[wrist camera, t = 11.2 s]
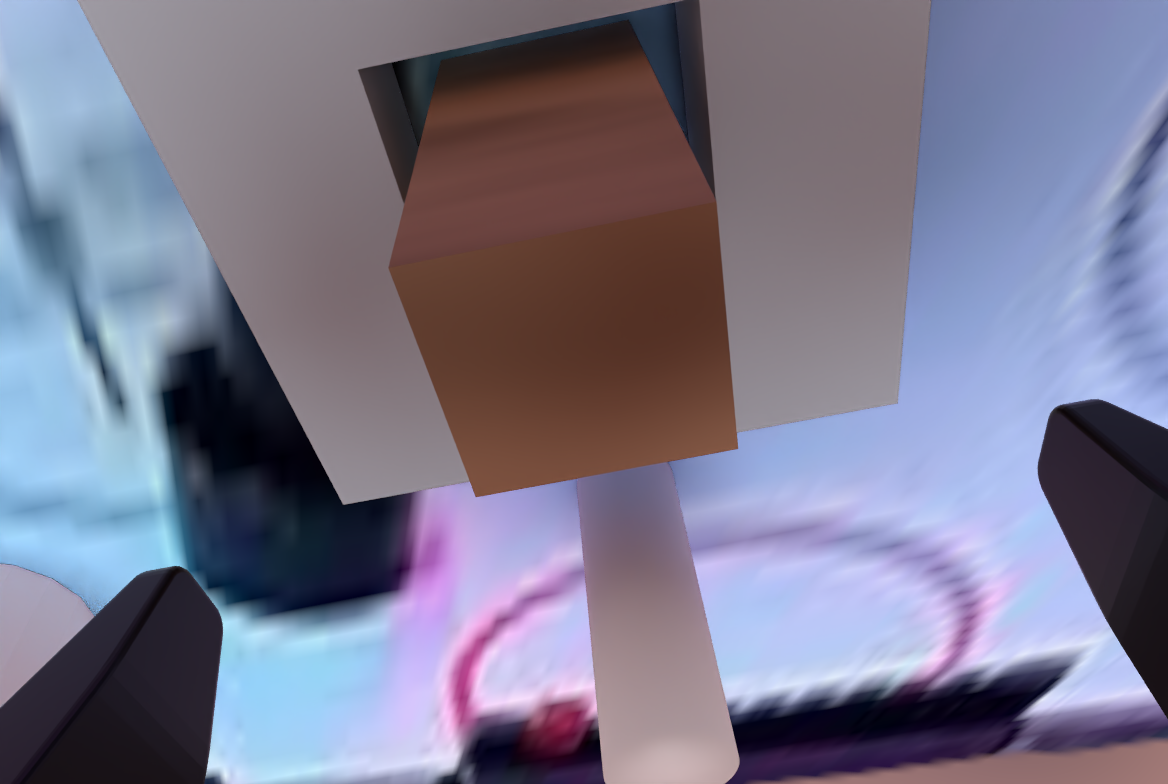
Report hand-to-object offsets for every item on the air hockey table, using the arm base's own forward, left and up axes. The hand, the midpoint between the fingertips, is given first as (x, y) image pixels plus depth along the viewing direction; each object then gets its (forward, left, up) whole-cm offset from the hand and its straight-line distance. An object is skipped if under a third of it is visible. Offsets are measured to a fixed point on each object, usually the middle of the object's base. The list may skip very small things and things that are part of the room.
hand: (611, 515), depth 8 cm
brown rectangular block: (0, 0, -12) cm, 12 cm away
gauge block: (0, +3, -12) cm, 12 cm away
